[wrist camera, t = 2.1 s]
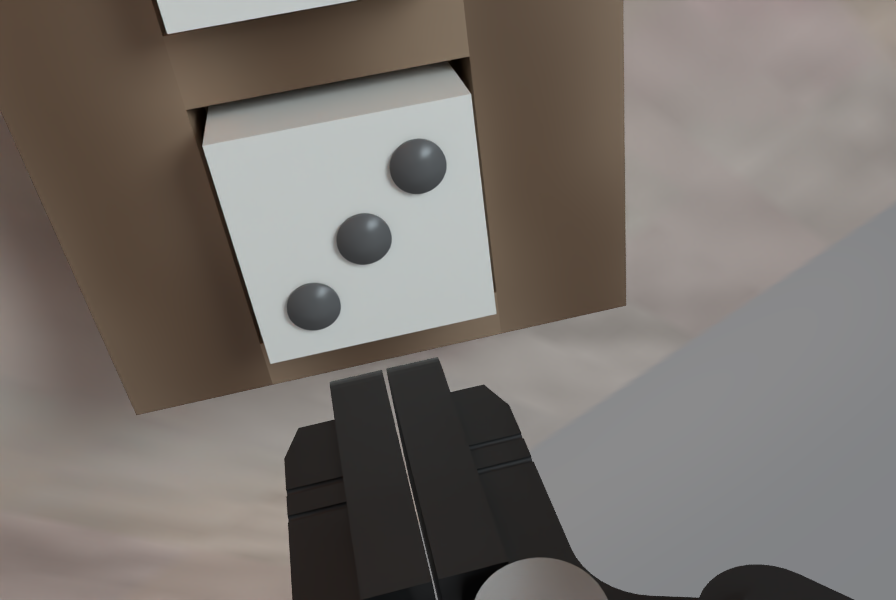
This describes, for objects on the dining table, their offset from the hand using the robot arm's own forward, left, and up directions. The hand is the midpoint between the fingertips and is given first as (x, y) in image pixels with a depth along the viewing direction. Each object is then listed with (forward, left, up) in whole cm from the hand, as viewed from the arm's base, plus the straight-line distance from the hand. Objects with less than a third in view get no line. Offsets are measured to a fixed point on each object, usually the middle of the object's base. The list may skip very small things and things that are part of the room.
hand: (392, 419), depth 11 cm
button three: (0, 0, -8) cm, 8 cm away
